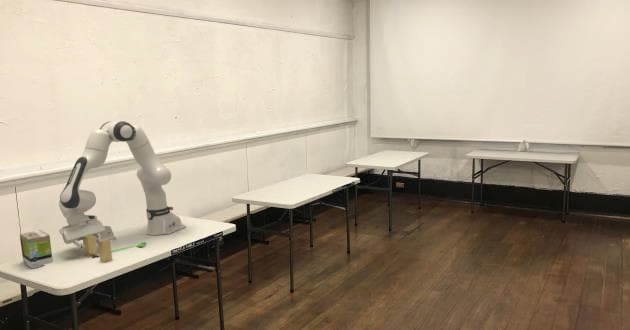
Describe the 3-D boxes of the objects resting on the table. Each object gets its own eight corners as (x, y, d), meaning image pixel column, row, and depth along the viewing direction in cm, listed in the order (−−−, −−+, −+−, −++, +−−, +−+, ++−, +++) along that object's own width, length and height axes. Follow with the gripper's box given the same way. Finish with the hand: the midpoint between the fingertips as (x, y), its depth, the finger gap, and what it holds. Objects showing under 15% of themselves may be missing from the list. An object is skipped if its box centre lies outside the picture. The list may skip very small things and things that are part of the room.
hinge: (87, 248, 270) (82, 230, 271) (84, 249, 274) (78, 231, 274) (117, 239, 283) (112, 222, 284) (113, 241, 286) (108, 224, 287)
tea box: (54, 263, 249) (50, 234, 246) (31, 269, 242) (27, 239, 239) (44, 256, 259) (40, 228, 257) (22, 262, 253) (18, 233, 250)
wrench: (149, 246, 269) (145, 244, 273) (148, 243, 269) (144, 241, 273) (100, 258, 253) (97, 255, 257) (100, 254, 253) (96, 252, 257)
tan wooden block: (107, 258, 249) (105, 238, 247) (112, 259, 247) (109, 240, 245) (100, 260, 246) (97, 241, 244) (104, 262, 243) (102, 242, 242)
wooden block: (93, 253, 258) (91, 234, 256) (97, 254, 255) (95, 235, 254) (85, 255, 255) (83, 236, 253) (89, 257, 252) (87, 237, 251)
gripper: (59, 224, 249) (71, 247, 244) (99, 214, 264) (111, 235, 260) (56, 231, 252) (68, 254, 248) (95, 221, 268) (107, 242, 263)
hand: (90, 244), depth 254 cm, fingers open, 8 cm apart
